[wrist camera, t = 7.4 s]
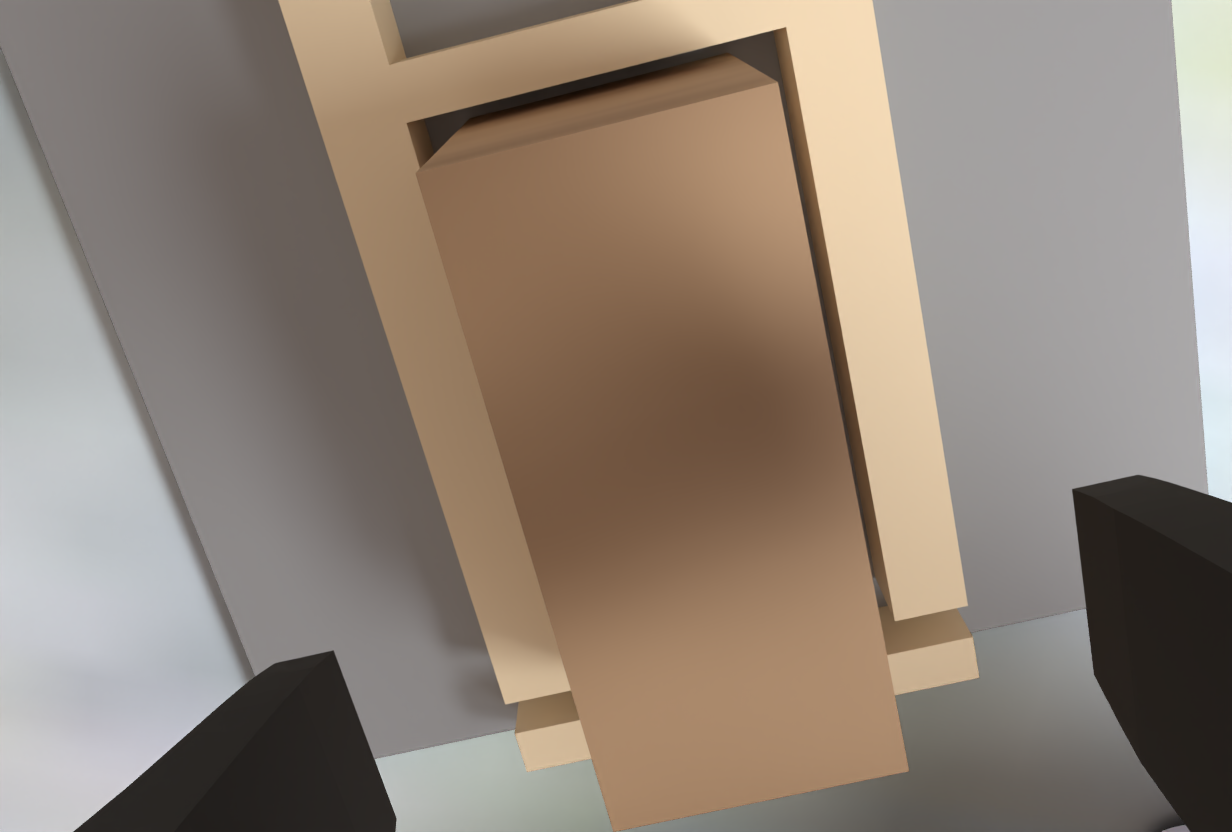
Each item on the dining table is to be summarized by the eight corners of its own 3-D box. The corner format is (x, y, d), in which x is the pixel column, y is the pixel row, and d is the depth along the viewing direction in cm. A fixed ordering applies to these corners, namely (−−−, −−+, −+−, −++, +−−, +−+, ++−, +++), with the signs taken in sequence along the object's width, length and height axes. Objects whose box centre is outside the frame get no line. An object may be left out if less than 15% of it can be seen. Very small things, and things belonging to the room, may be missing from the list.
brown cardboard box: (833, 574, 21) (908, 771, 16) (611, 622, 21) (613, 832, 16) (727, 52, 18) (777, 82, 12) (469, 118, 18) (415, 173, 13)
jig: (1198, 565, 21) (1259, 625, 19) (302, 756, 23) (274, 829, 21) (1095, -740, 15) (1168, -849, 13) (-148, -373, 16) (-252, -421, 14)
